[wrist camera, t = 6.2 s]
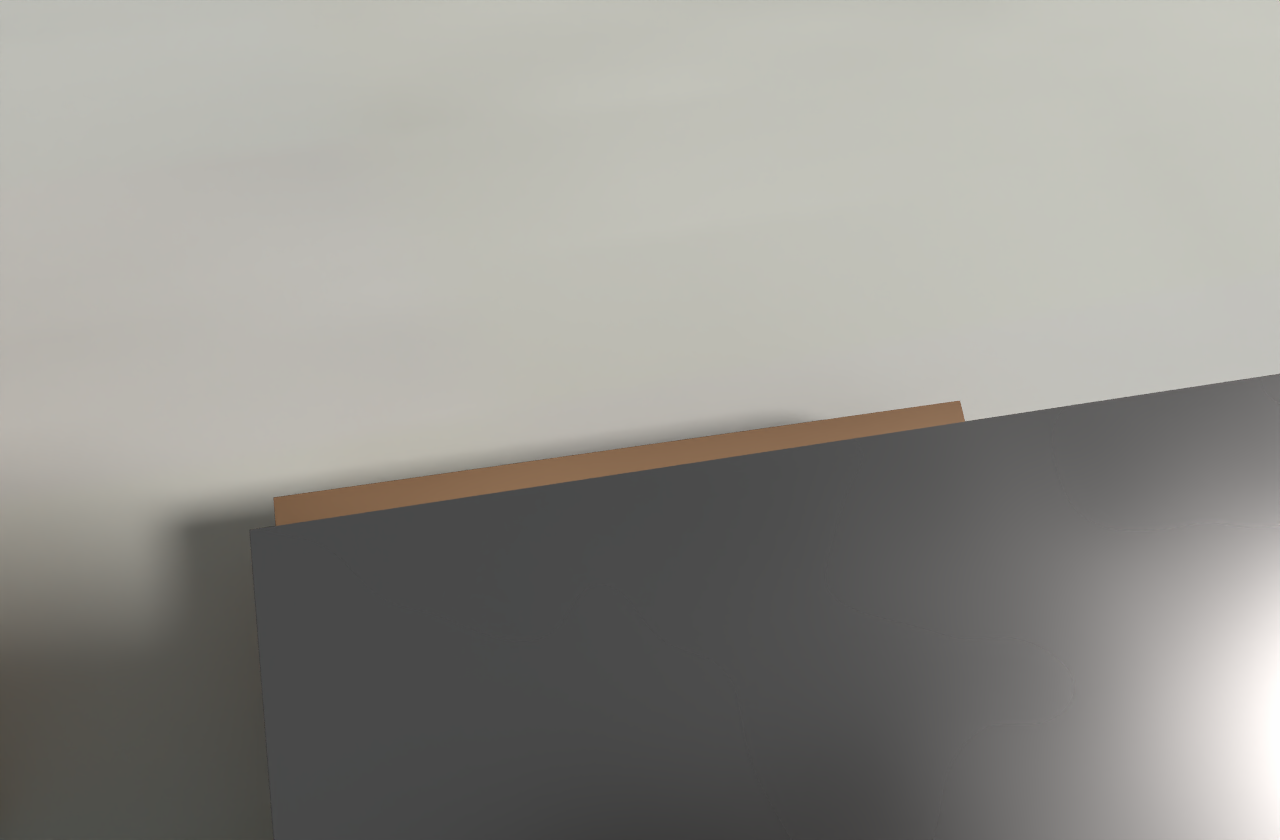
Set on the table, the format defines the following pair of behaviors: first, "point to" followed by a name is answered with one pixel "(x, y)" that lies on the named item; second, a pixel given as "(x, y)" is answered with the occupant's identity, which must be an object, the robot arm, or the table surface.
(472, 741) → the tea tin
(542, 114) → the table surface
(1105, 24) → the table surface
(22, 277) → the table surface
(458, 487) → the walnut block
